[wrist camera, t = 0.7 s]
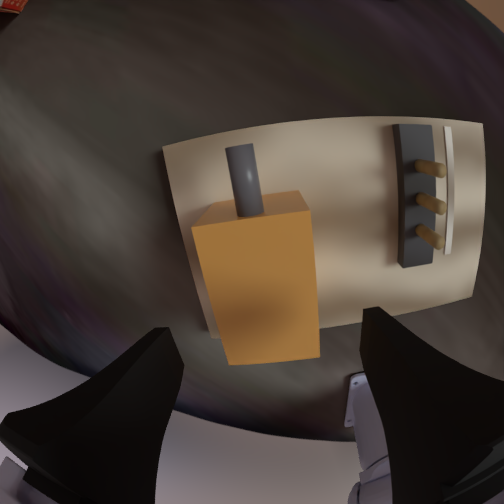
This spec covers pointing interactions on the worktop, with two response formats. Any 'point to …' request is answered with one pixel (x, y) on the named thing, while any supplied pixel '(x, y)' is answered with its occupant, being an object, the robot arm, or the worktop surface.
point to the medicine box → (12, 6)
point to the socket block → (260, 268)
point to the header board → (357, 205)
